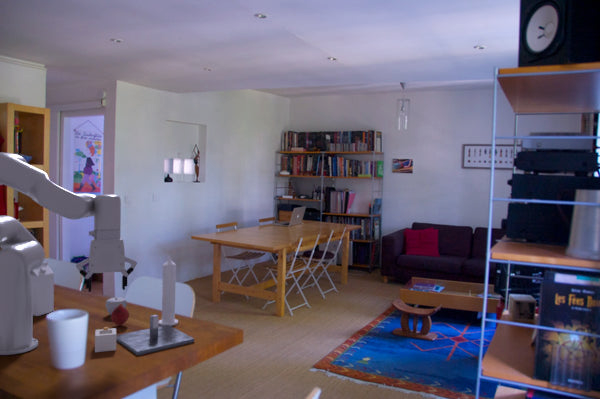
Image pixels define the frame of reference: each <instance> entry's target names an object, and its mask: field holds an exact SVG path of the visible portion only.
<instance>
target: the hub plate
mask: <svg viewBox="0 0 600 399" xmlns="http://www.w3.org/2000/svg"><path fill="white" fill-rule="evenodd" d="M158 321H159V314H152V315H150V316H149V328H145V329H141V330H135V331H131V332H126V333H121V334H120V333H119V334H116V342H117V343H119V344H120V345H122V346H124V348H126V349H127V350H129V351H130V352H131V353H133V354H134V355H136V356H143V355H147V354H150V353H154V352H159V351H162V350H163V351H164V350H167V349H171V348H175V347H179V346H184V344H185V345H188V343H189V344H193V343H194V342H195V338H193V337H192V336H190V335H189V334H186V333H184V332H183V331H181V330H179V329H178V328H175V327H173V326H170V325H165V326H161V325H159V324H158ZM192 342H193V343H192Z"/></svg>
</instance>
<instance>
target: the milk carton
mask: <svg viewBox="0 0 600 399" xmlns="http://www.w3.org/2000/svg"><path fill="white" fill-rule="evenodd" d="M30 277H31V281H32V286H33V317H34V316H35V317H39V316H42V315H46V314H49V313H50V314H51V313H53V312H55V311H54V310H55V308H54V307H55V306H54V304H55V303H54V301H55V300H54V297H55V295H54V294H55V272H54V271H53V270H52V268H51V267H50V266H49V264H48V261H45V262H44V261H43V263H42V264H41V265H40V266H39V267H38V268H36V269H34V270H32V271H30ZM52 311H53V312H52Z"/></svg>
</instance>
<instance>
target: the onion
mask: <svg viewBox="0 0 600 399" xmlns="http://www.w3.org/2000/svg"><path fill="white" fill-rule="evenodd" d="M122 305H123V304H119V306H118V307H116V308H115V309H114V310H113V312H112V314H111V315H110V319H111V321H112V322H113V323H114V324H115V325H116V326H118V327H122V326H123V325H124V324H125V323H126V322H127V321H128V320H129V317H130V312H129V311H128V309H127V307H126V308H125V307H123V306H122Z"/></svg>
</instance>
